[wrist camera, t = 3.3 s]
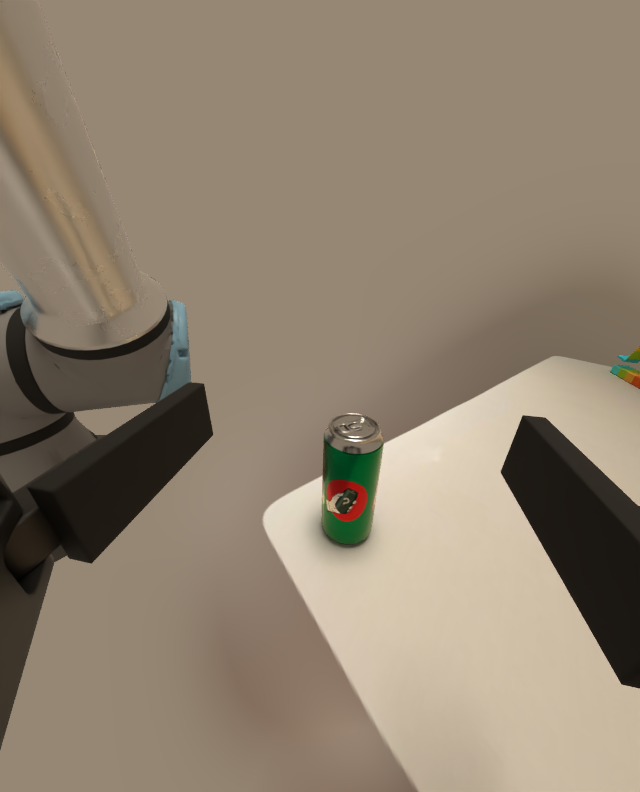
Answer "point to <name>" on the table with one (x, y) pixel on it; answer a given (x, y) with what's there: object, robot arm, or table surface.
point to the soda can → (350, 476)
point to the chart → (628, 369)
